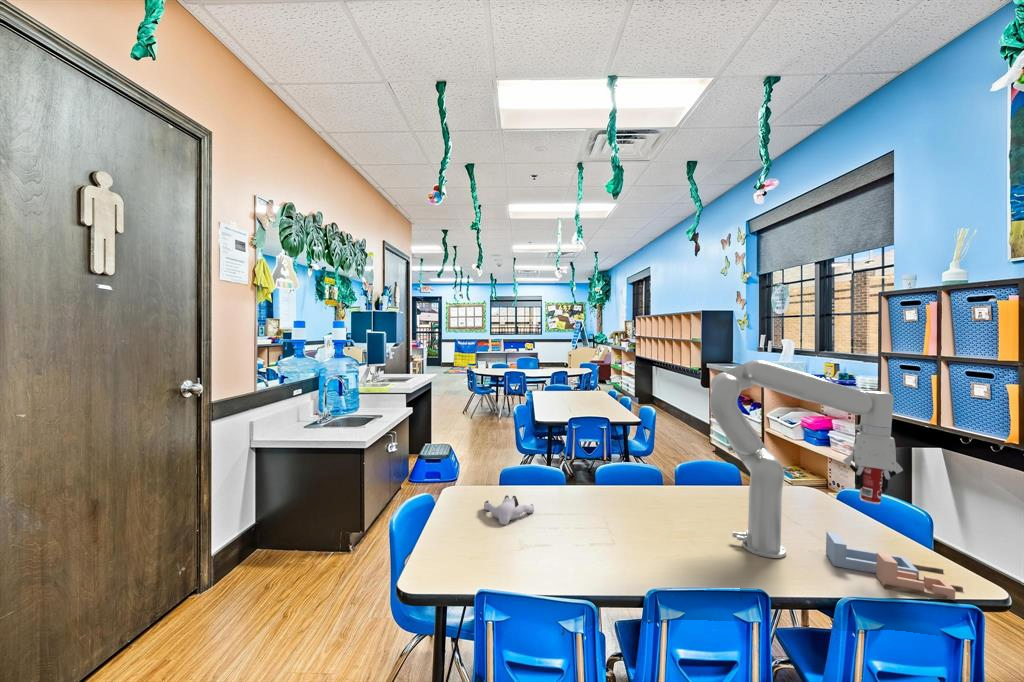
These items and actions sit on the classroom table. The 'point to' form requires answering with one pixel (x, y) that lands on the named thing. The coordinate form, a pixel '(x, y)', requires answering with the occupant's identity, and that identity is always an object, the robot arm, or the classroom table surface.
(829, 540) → the frame
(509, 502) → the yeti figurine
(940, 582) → the broken frame end
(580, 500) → the classroom table surface
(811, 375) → the robot arm
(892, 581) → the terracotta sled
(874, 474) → the soda can
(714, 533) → the classroom table surface
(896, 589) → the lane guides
